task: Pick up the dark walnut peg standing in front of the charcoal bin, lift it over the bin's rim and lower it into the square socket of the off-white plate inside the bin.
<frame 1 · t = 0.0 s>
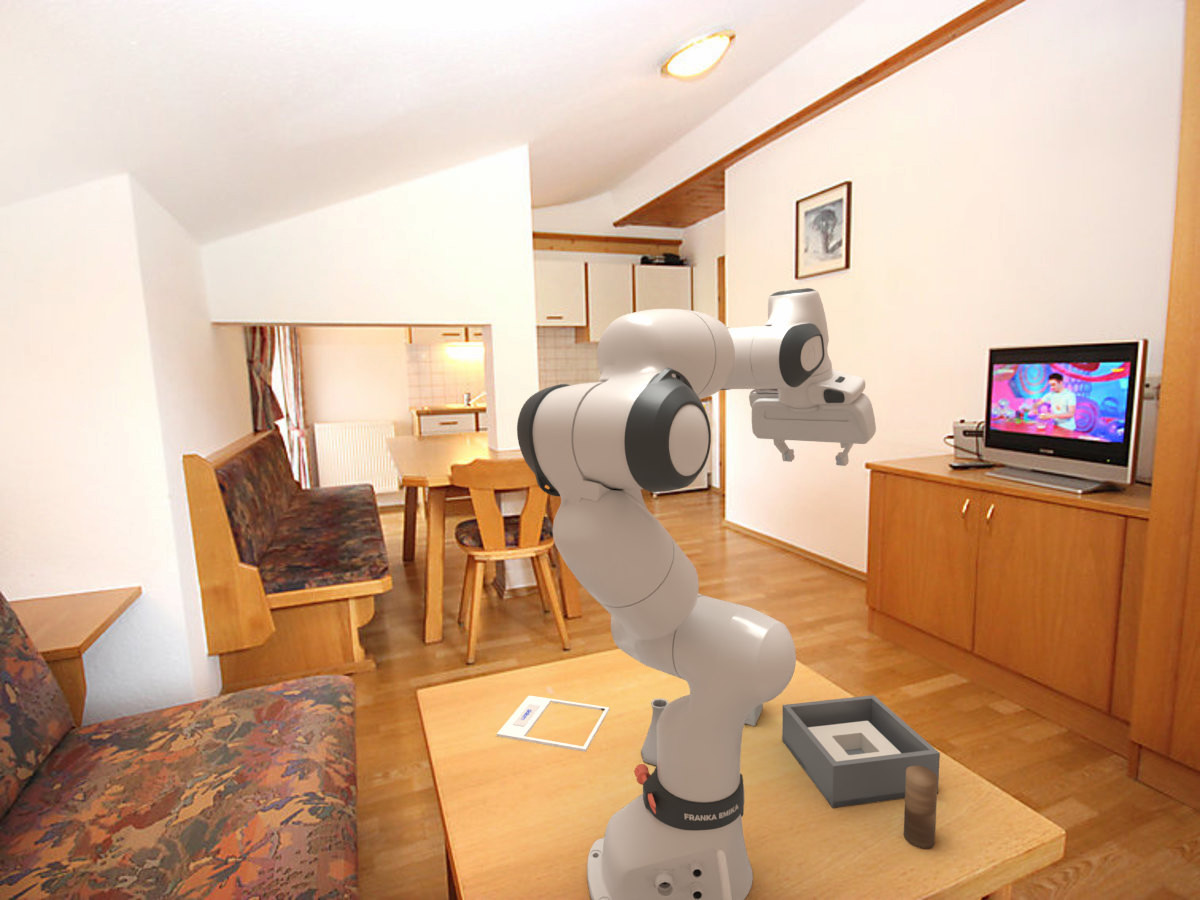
hand: (814, 462, 106), 52 cm above the table, tool tilted 20°, fingers open, 8 cm apart
peg: (919, 838, 89), on the table
supplement box: (741, 714, 123), on the table
flask: (660, 756, 110), on the table
bin: (854, 765, 106), on the table
photo frame: (555, 725, 122), on the table
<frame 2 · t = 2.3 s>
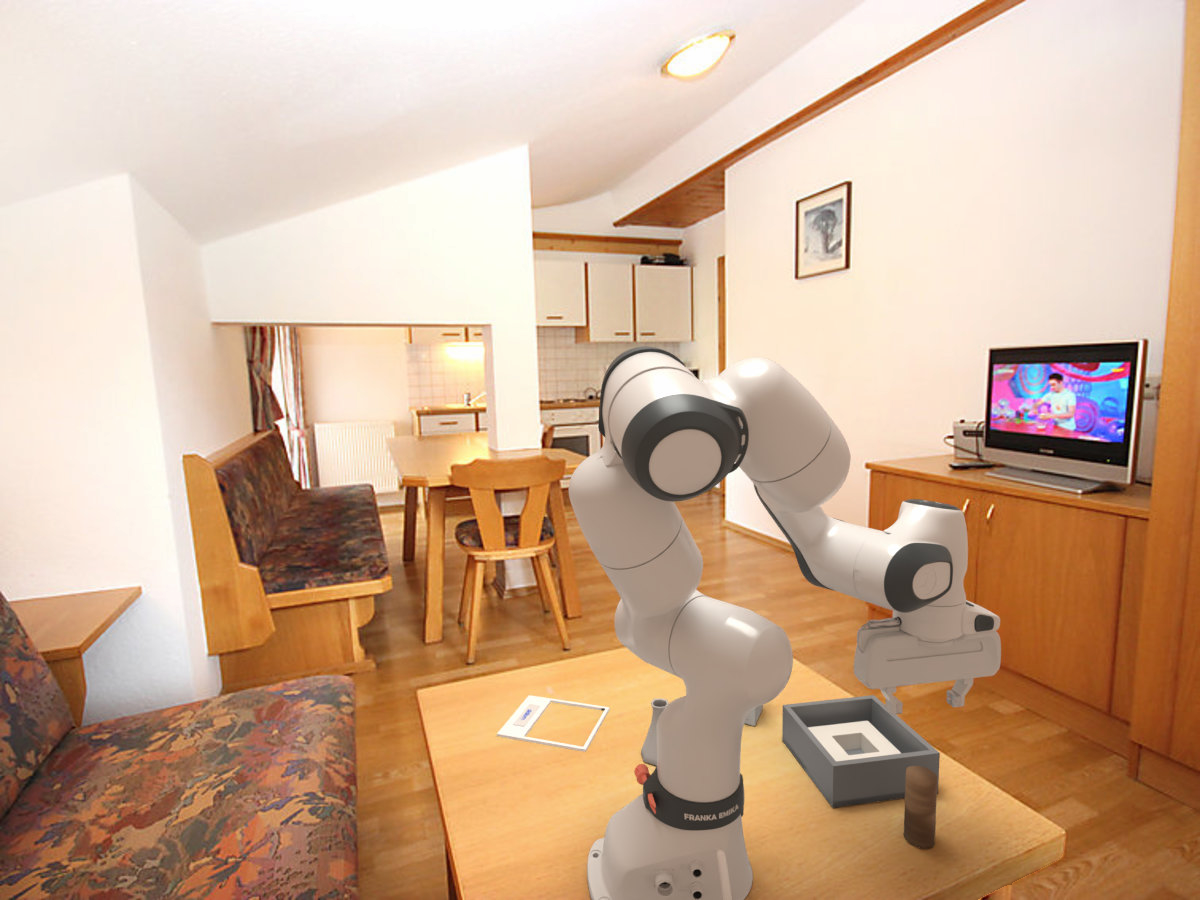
hand: (924, 708, 87), 20 cm above the table, tool pointing down, fingers open, 8 cm apart
nothing on the table moved.
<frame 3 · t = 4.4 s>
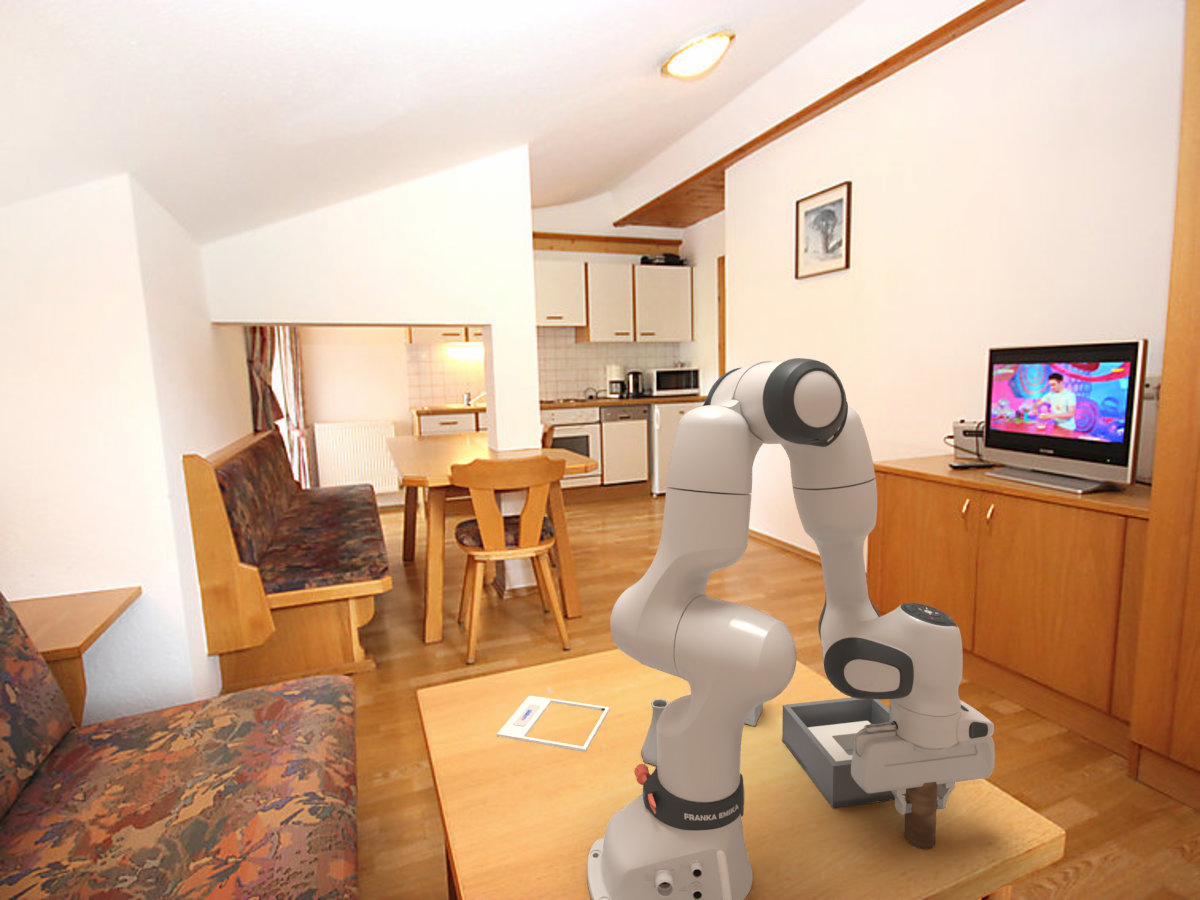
hand: (920, 808, 89), 5 cm above the table, tool pointing down, fingers closed on peg, 4 cm apart
peg: (919, 838, 89), on the table, touching gripper
everything else where it was.
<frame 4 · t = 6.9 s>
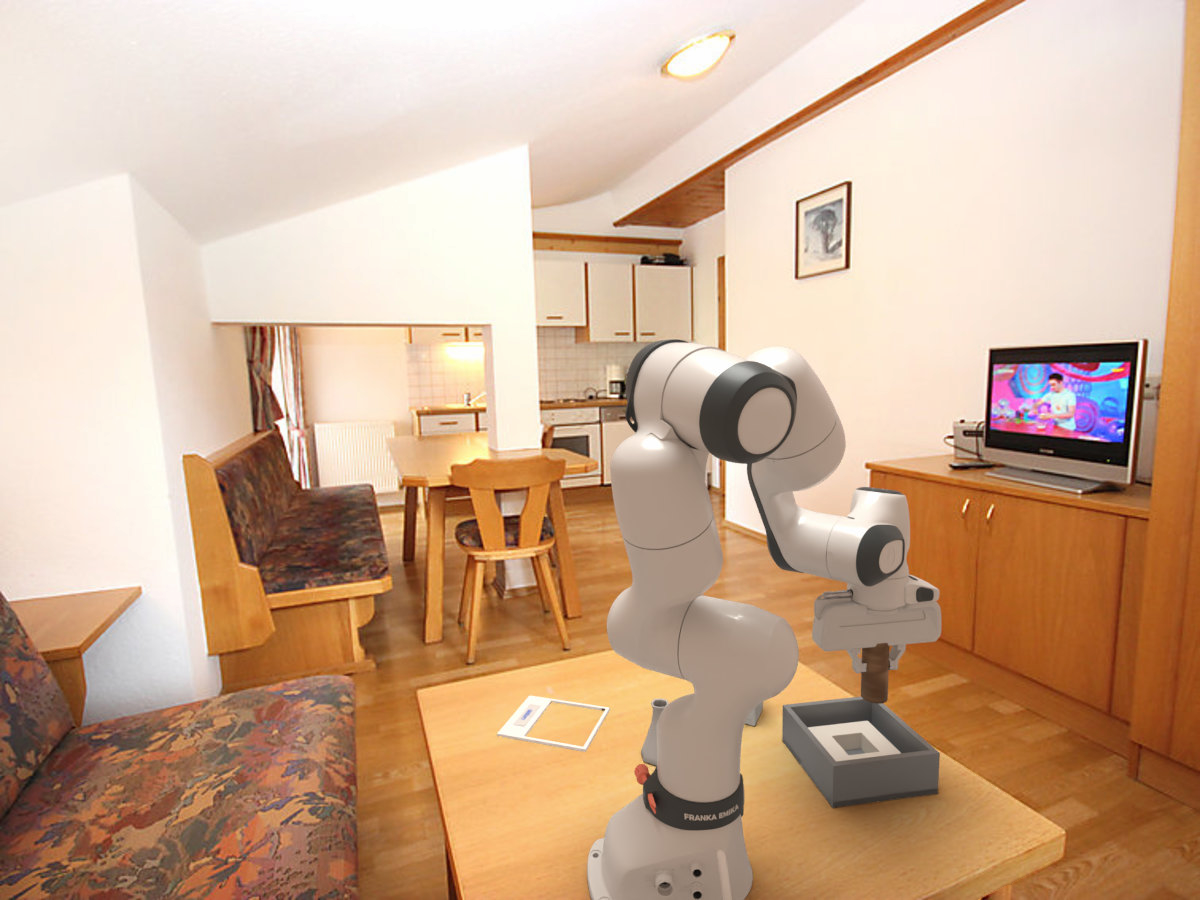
hand: (875, 669, 99), 20 cm above the table, tool pointing down, fingers closed on peg, 4 cm apart
peg: (874, 696, 100), point 15 cm above the table, touching gripper
everything else where it was.
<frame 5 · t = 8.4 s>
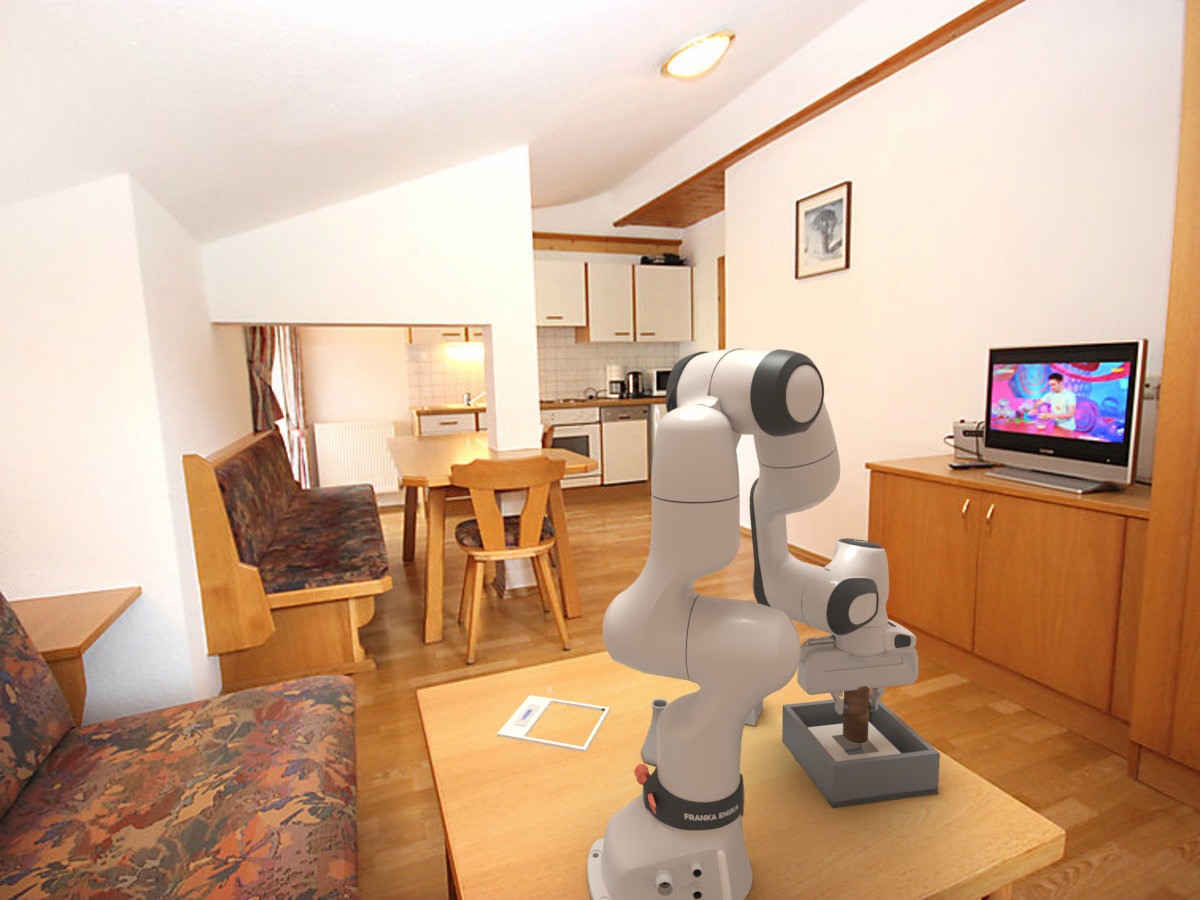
hand: (856, 710, 105), 10 cm above the table, tool pointing down, fingers closed on peg, 4 cm apart
peg: (855, 735, 105), point 5 cm above the table, touching gripper
everything else where it was.
when the fingers open (7 cm above the table, at t = 9.4 s): peg stays where it is, resting on bin.
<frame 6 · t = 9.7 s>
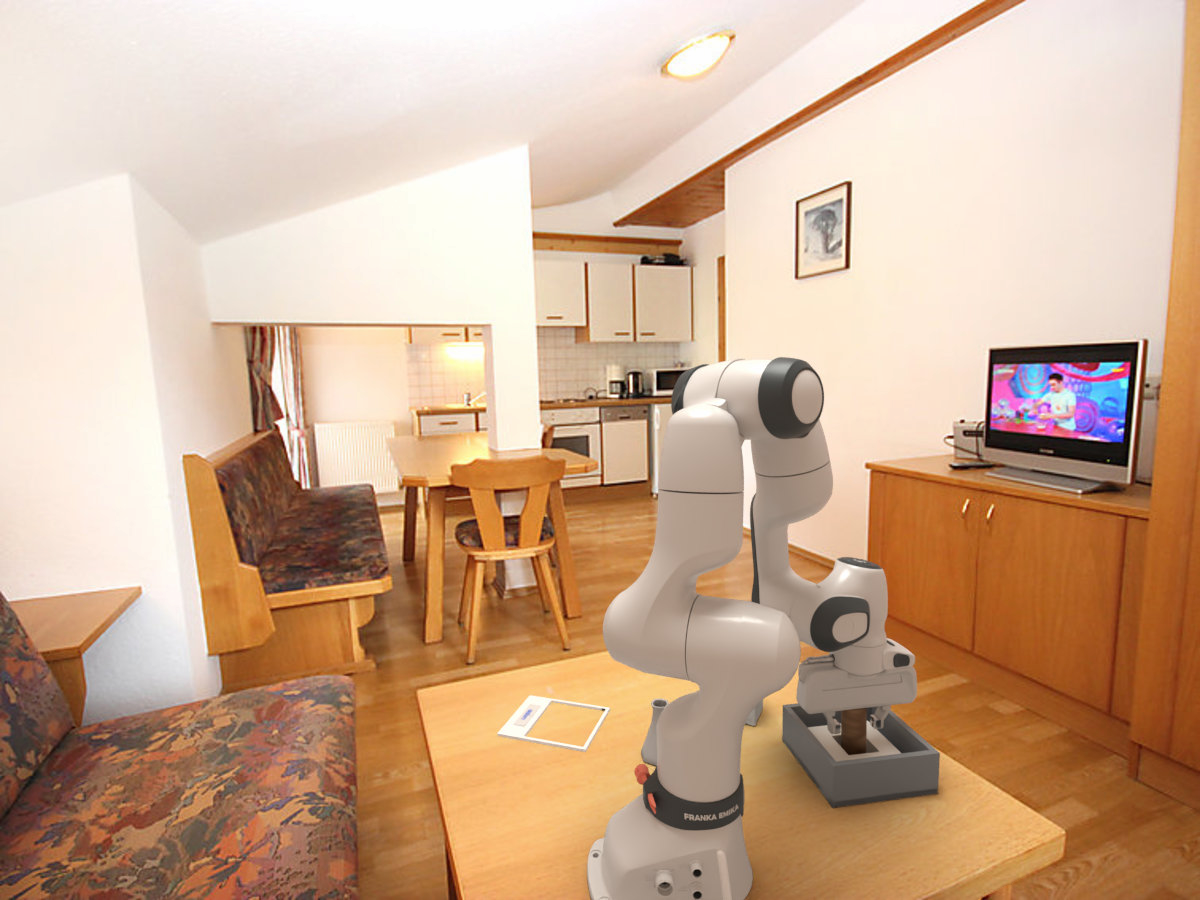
hand: (855, 729, 105), 7 cm above the table, tool pointing down, fingers open, 6 cm apart
peg: (853, 759, 106), point 1 cm above the table, touching bin
everything else where it was.
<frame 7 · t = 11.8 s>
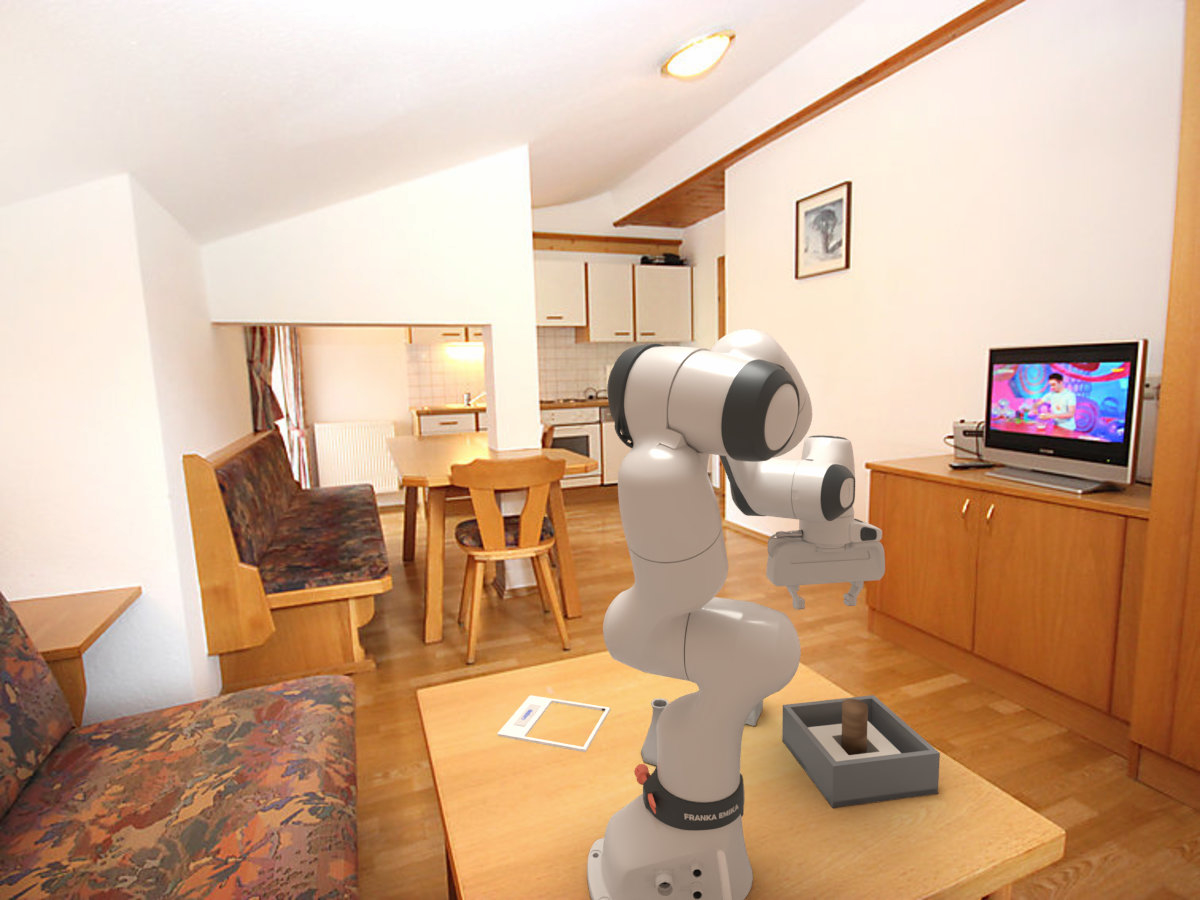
hand: (824, 606, 107), 27 cm above the table, tool pointing down, fingers open, 8 cm apart
nothing on the table moved.
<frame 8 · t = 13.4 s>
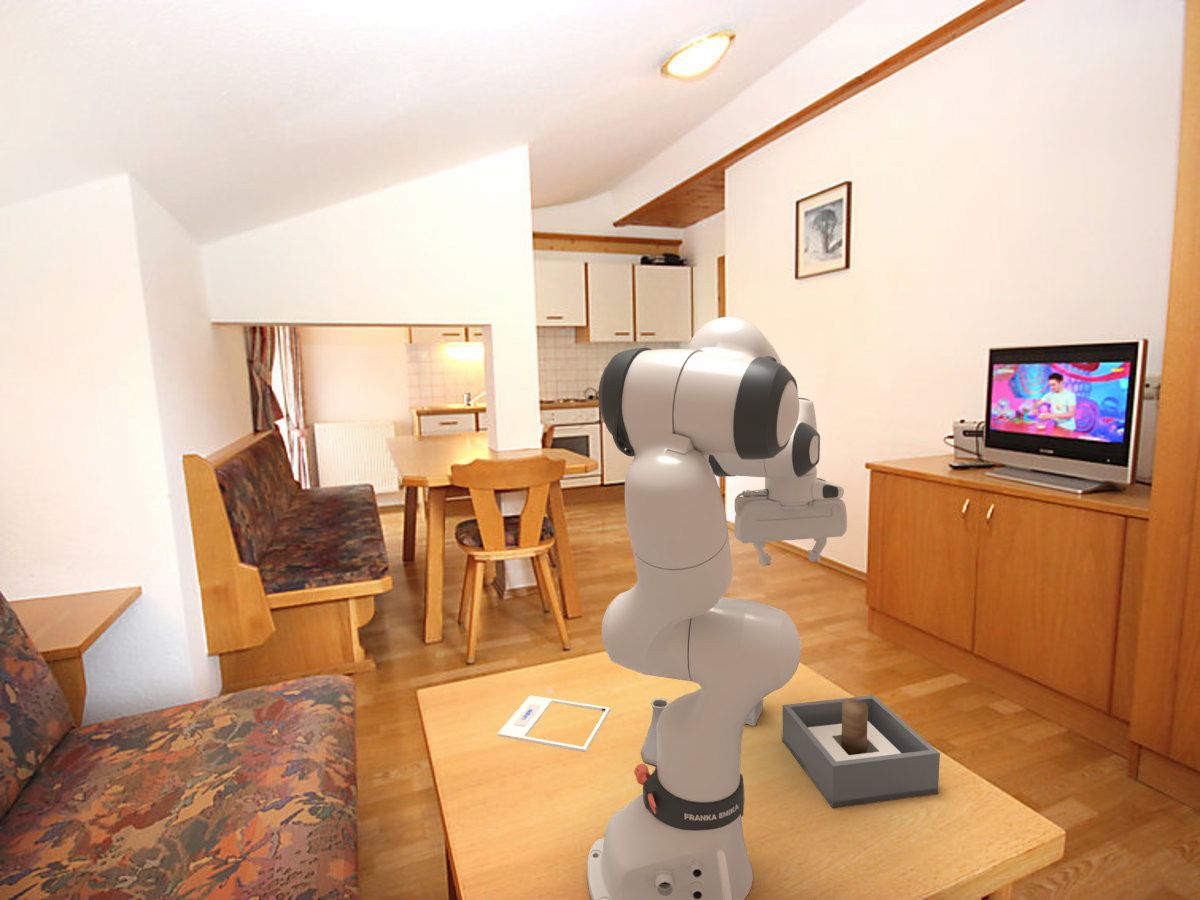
hand: (789, 562, 112), 33 cm above the table, tool pointing down, fingers open, 8 cm apart
nothing on the table moved.
at the end: peg 0.1 cm off-centre on the bin, point 1.0 cm above the bin's base; peg tilted 0°; the gripper is holding nothing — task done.
